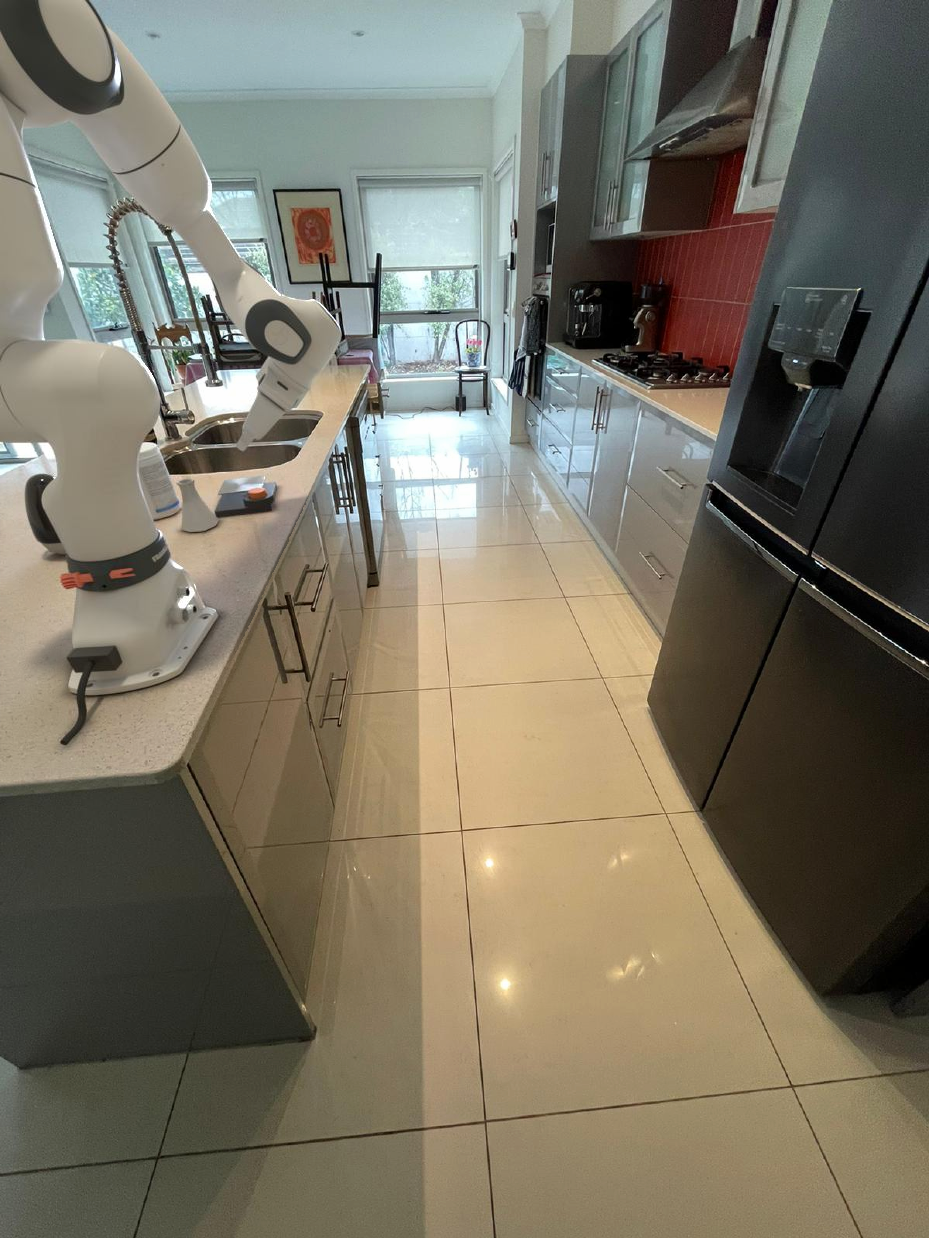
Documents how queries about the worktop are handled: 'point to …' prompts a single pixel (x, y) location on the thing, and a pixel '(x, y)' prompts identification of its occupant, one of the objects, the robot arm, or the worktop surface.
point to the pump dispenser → (41, 513)
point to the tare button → (257, 493)
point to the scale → (246, 502)
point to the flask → (194, 509)
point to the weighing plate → (241, 485)
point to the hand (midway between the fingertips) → (242, 441)
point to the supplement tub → (157, 483)
